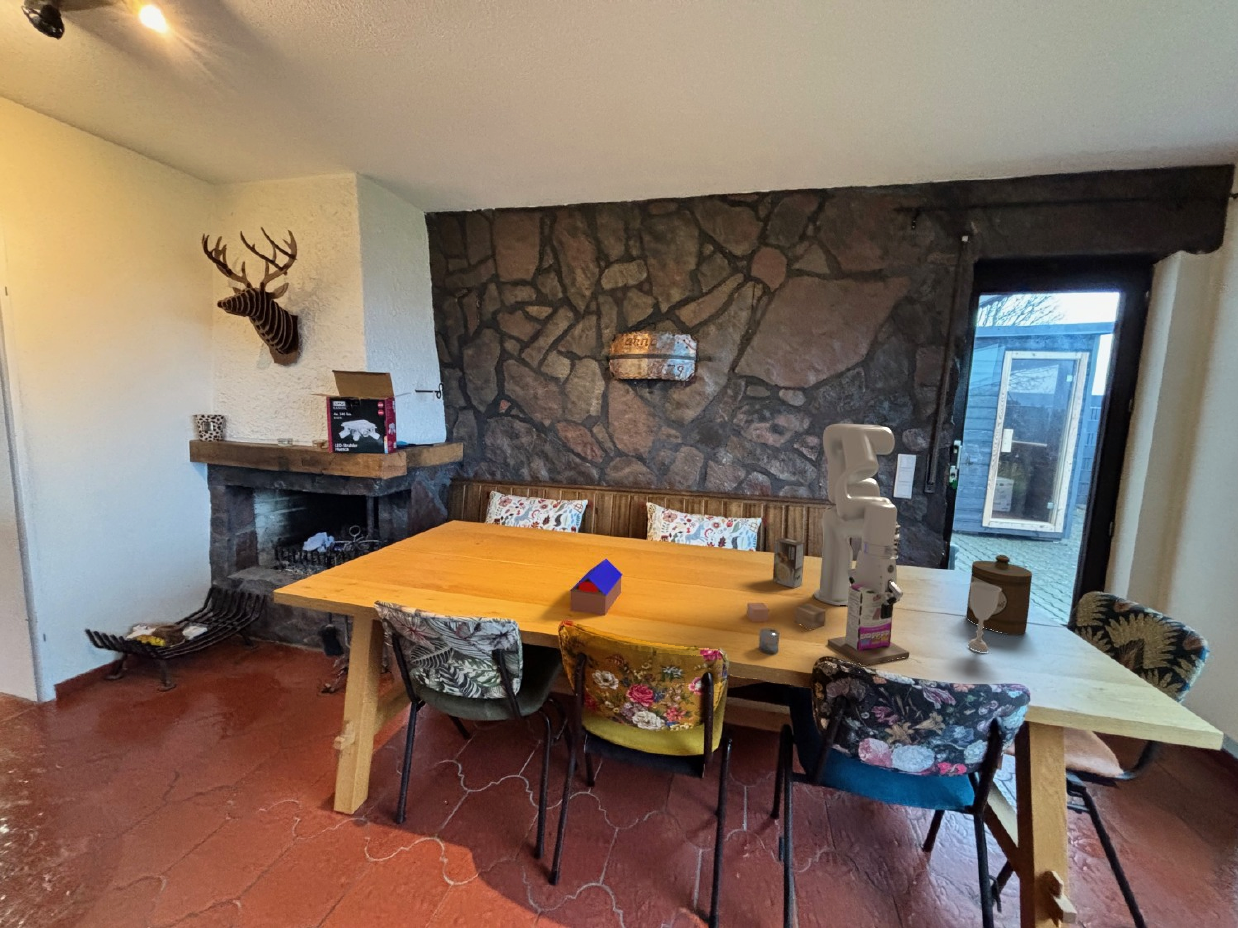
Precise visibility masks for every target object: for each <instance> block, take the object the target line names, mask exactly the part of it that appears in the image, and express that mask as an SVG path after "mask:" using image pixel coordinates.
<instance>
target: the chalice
mask: <svg viewBox="0 0 1238 928" xmlns="http://www.w3.org/2000/svg"><path fill="white" fill-rule="evenodd" d="M970 586H971V594H970V604H971V608H972V610H973V612H974V615H975V617H976V618H978V619H979V623H978V625H977V626H976V627H977V630H976V631H975V633H976V637H975V638H972V639H971V640H969V642H968V644H967V645H968V646H969V648H972V649H974V650H977V651H980V652H987V651H989V649H988V645H987V644H986V642H985V641H984V640H983V639H982V636H983V635H984V631H983V627H984V626H983V621H984V620H988V618H989V617H990V616H991V615H992V614H993V613H994V611H995V609H996V608H997V604H998V597H999V593H1000V591H1001V590H1002V589H1001V588H1000V587H998V586H995V585H992V584H987V583H981V582H972V583H971V582H969V587H970Z"/></svg>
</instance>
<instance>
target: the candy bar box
mask: <svg viewBox="0 0 1238 928" xmlns="http://www.w3.org/2000/svg"><path fill="white" fill-rule="evenodd" d="M885 592H886V591H885ZM892 595H894V594H892ZM886 597H887V599H889V598H888V596H887V595H886ZM883 603H884V602H883V600H882V598H881V596H880V595H879V594H876V593H874V592H873V591H872V590H870V589H868V588H866V587H864V586H861V585H857V586H851V585H850V586H849V597H848V605H847V613H846V614H847V615H846V626H845V636H846V639H845V643H846V644H847V645H849V646H850V647H852V648H854V649H855V650H857V651H862V650H869V649H875V648H880V647H886V646H890V642H891V638H892V636H891V635H892V625H893V613H894V612H893V611H894V608H893V609H892V617H891V618H887V619H882V618H881V617H880V614H881V605H882V604H883Z"/></svg>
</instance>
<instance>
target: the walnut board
mask: <svg viewBox="0 0 1238 928" xmlns="http://www.w3.org/2000/svg"><path fill="white" fill-rule="evenodd" d="M845 639H846V635H845V636H839V637H833V638H828V639H827V645H828V646H829V647H831V648H833V649H834V650H836V651H837V652H839V653H840V654H842V655H843V656H845V657H847V658H848V659H849V658H850V659H849V660H851V659H852V660H851V661H853V660H854V661H855V662H854V661H853V662H854V663H856V664H857V663H860V664H861V665H867V664H872V665H875V664H874V663H877V664H879V663H878V662H882V663H885V662H884V661H888V660H892V659H897V658H902V657H910V651H908V650H906V649H905V648H903V647H901V646H899V645H897V644H896V643H895V642H892V641H890V646H886V647H880V648H875V649H869V650H862V651H857V650H855V649H854V648H852V647H850V646H849V645H847V644H846V643H845ZM888 662H889V661H888ZM867 666H868V665H867Z"/></svg>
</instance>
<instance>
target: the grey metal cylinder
mask: <svg viewBox="0 0 1238 928" xmlns="http://www.w3.org/2000/svg"><path fill="white" fill-rule="evenodd" d="M758 638H759V640H758V650H759V651H760V653H763V654H766V655H772V656H773V655H777V654H778V653H779V646H780V645H779V643H780V632H779V631H778V630H776V629H773V628H770V627H769V628H768V627H767V628H765V627H764V628H761V629H759V637H758Z"/></svg>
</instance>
